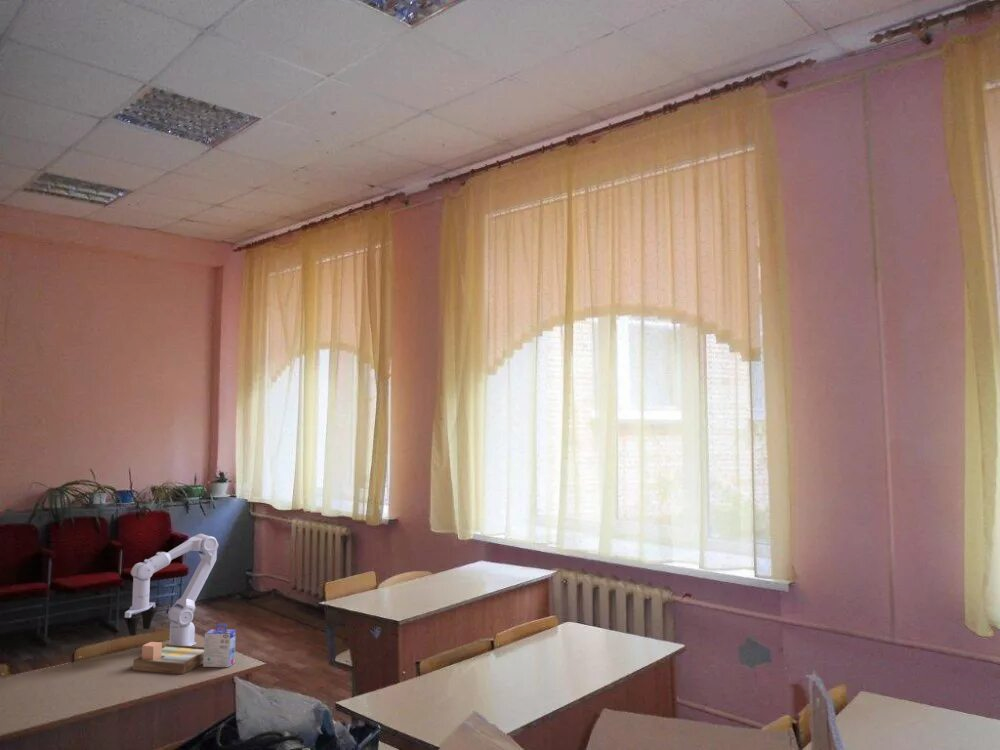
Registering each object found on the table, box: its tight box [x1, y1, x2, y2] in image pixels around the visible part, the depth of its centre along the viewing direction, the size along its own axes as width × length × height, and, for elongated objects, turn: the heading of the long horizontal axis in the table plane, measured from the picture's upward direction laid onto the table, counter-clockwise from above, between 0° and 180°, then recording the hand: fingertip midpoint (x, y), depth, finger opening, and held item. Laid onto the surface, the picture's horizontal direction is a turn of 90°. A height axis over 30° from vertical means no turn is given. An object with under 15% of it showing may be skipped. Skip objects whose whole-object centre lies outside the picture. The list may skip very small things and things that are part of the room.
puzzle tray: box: [132, 643, 204, 675], centre depth 258 cm, size 18×20×4 cm
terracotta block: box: [141, 641, 163, 661], centre depth 255 cm, size 5×5×7 cm
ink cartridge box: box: [202, 623, 237, 668], centre depth 257 cm, size 10×6×14 cm, turn 88°
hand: (139, 631), depth 264 cm, fingers open, 7 cm apart
